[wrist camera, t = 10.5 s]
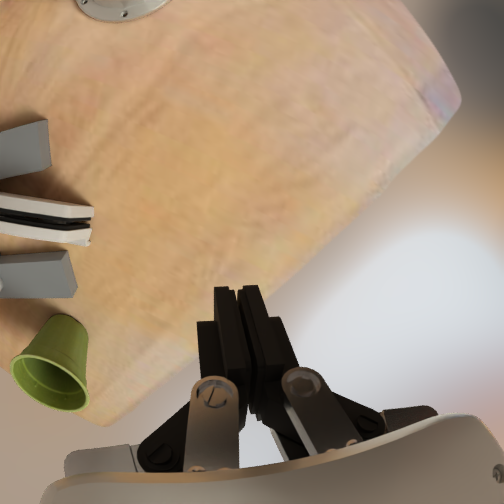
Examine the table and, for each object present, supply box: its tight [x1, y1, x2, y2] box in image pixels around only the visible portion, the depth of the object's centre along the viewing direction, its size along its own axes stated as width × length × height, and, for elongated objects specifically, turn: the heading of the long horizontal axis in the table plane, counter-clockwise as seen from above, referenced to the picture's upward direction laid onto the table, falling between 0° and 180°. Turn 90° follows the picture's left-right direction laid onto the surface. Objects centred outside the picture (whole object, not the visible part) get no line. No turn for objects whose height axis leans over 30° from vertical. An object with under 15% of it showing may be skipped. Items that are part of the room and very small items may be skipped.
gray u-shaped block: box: [0, 119, 78, 298], centre depth 27 cm, size 22×15×4 cm
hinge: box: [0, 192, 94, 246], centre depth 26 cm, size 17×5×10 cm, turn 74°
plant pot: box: [10, 314, 90, 412], centre depth 34 cm, size 12×12×11 cm
